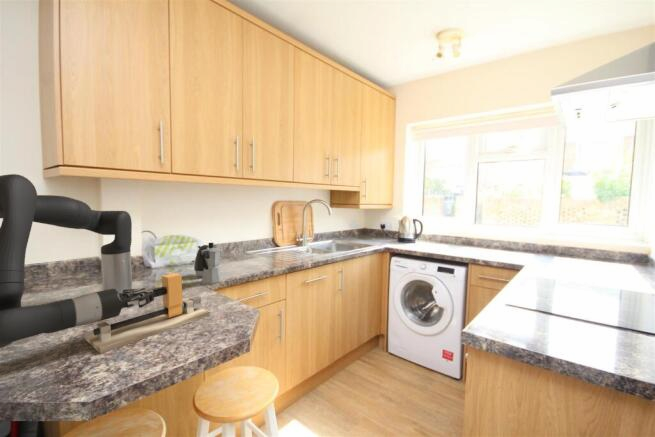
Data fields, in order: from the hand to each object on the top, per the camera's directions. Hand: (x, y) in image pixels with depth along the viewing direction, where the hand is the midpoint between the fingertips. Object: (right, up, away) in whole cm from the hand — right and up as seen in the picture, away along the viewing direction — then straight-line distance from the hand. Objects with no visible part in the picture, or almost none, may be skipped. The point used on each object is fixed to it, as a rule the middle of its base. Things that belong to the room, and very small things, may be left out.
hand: (165, 290), depth 89 cm
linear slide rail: (-2, -10, -2) cm, 11 cm away
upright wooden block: (+1, -8, +2) cm, 8 cm away
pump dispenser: (-11, -6, +55) cm, 56 cm away
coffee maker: (-3, -7, +43) cm, 44 cm away
